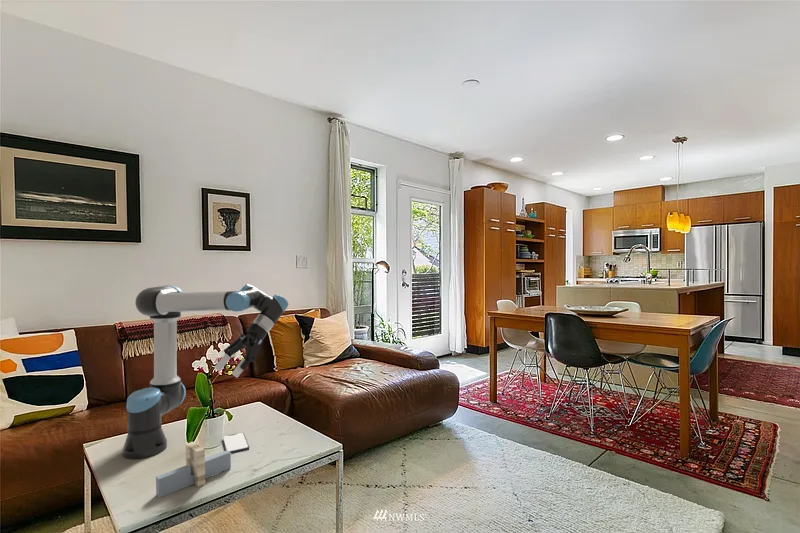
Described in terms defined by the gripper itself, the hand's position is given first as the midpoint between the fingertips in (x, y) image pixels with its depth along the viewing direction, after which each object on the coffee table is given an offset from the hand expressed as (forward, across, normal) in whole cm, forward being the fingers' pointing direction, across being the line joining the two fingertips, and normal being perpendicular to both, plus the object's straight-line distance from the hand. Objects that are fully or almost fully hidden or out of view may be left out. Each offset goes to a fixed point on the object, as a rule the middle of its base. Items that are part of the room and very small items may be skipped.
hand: (225, 372), depth 162 cm
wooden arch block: (+34, -8, -12) cm, 37 cm away
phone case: (+18, +8, -29) cm, 35 cm away
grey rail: (+34, -8, -12) cm, 37 cm away
